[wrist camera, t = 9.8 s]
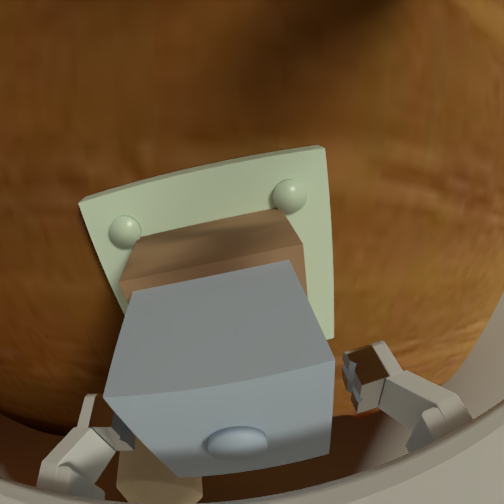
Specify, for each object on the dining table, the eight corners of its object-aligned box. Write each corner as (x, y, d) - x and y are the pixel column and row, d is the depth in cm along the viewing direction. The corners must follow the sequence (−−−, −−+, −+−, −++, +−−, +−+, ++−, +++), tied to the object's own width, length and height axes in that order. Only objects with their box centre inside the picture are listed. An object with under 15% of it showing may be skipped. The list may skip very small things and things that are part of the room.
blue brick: (132, 291, 11) (99, 409, 6) (289, 259, 11) (340, 371, 7) (180, 387, 14) (179, 485, 9) (300, 365, 14) (331, 461, 9)
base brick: (178, 341, 18) (175, 394, 14) (138, 237, 14) (118, 282, 11) (293, 318, 18) (312, 368, 14) (280, 207, 15) (303, 243, 11)
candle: (193, 417, 23) (197, 523, 15) (129, 407, 22) (118, 514, 13) (204, 380, 21) (211, 507, 12) (129, 368, 20) (110, 495, 11)
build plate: (156, 361, 20) (155, 375, 19) (85, 196, 14) (75, 205, 13) (329, 327, 20) (335, 340, 19) (317, 144, 14) (327, 149, 13)
